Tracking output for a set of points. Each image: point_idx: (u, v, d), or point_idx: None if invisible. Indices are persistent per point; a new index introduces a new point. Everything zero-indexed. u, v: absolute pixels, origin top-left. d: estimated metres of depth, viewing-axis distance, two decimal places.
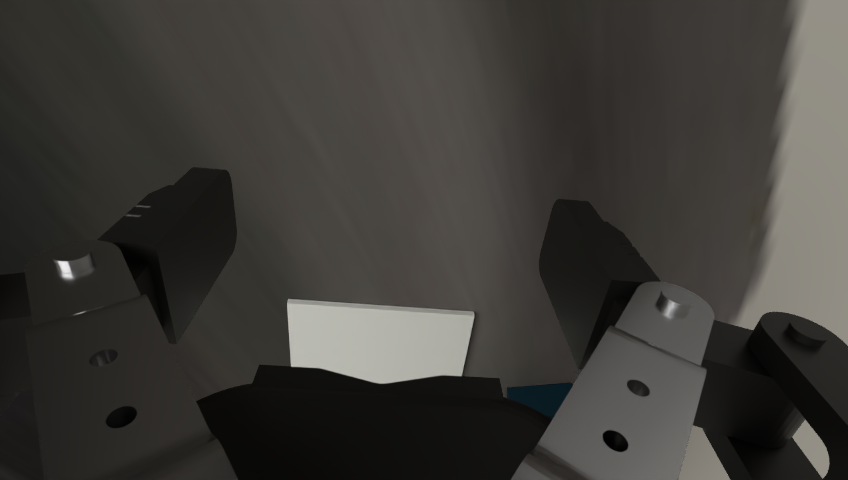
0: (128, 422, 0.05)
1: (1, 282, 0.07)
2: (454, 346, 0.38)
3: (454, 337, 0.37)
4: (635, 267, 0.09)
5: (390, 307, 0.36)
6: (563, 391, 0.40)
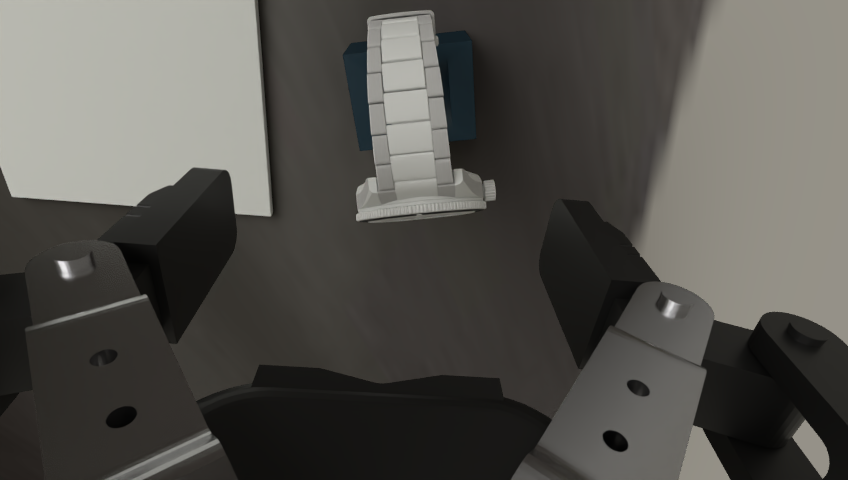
0: (128, 422, 0.05)
1: (1, 282, 0.07)
2: None
3: None
4: (635, 267, 0.09)
5: None
6: (447, 35, 0.22)
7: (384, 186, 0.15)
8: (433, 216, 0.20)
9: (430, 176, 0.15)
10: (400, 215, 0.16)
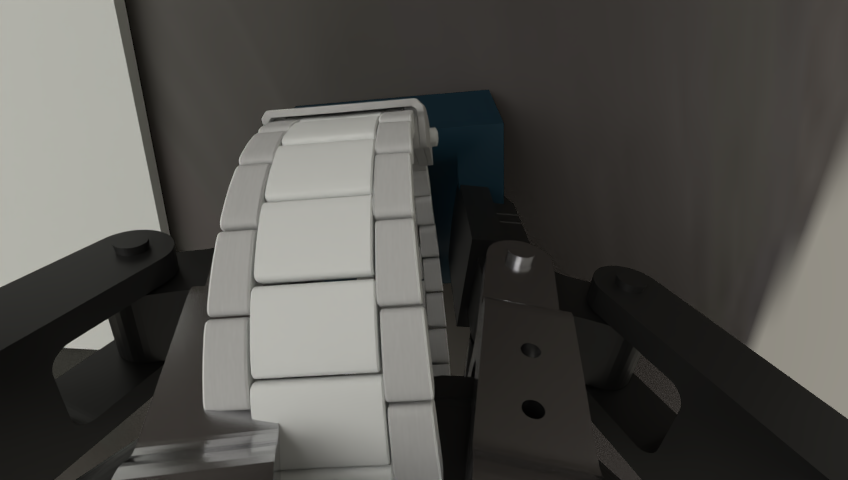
0: None
1: (189, 257, 0.08)
2: None
3: None
4: (500, 229, 0.10)
5: None
6: (459, 100, 0.13)
7: None
8: None
9: None
10: None
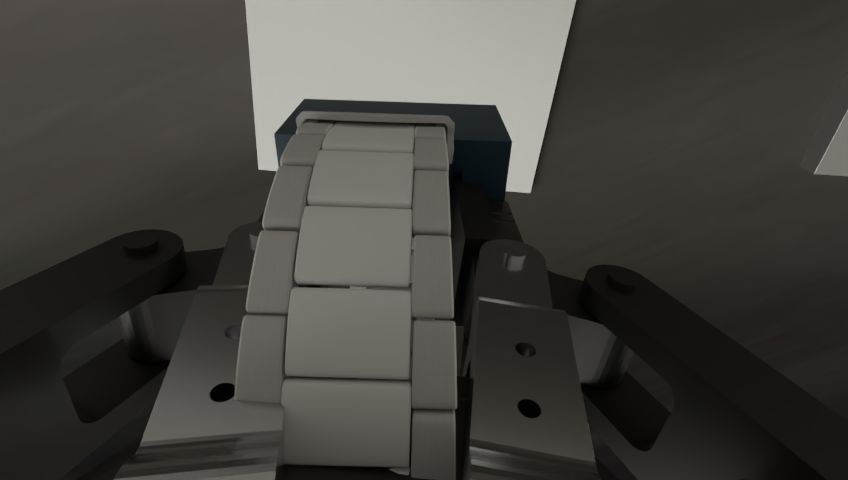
0: (230, 398, 0.05)
1: (197, 257, 0.08)
2: None
3: None
4: (494, 228, 0.10)
5: None
6: (467, 112, 0.13)
7: None
8: None
9: None
10: None
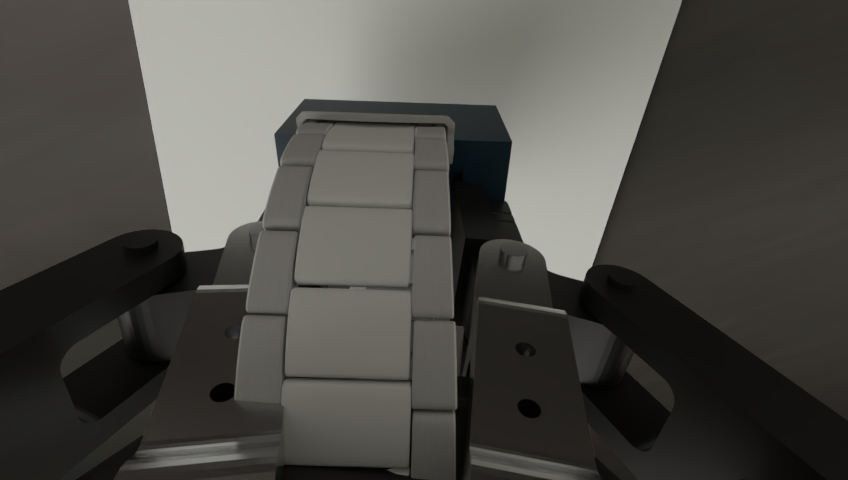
0: (230, 398, 0.05)
1: (197, 257, 0.08)
2: None
3: None
4: (494, 228, 0.10)
5: None
6: (467, 112, 0.13)
7: None
8: None
9: None
10: None
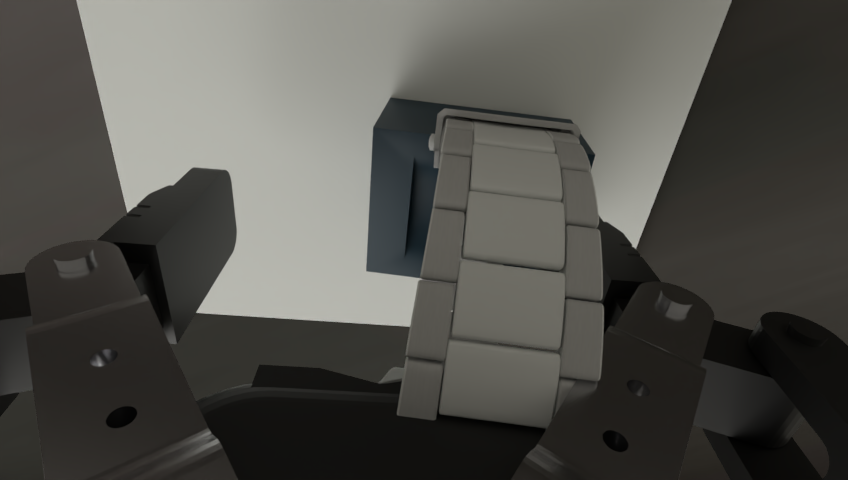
0: (128, 422, 0.05)
1: (1, 282, 0.07)
2: None
3: None
4: (635, 267, 0.09)
5: None
6: None
7: None
8: None
9: None
10: None
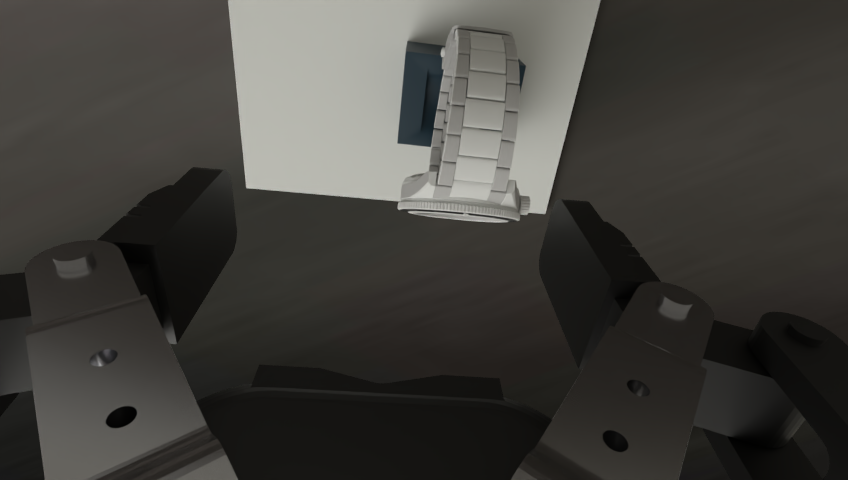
0: (128, 422, 0.05)
1: (1, 282, 0.07)
2: None
3: None
4: (635, 267, 0.09)
5: None
6: None
7: (444, 181, 0.16)
8: (462, 218, 0.21)
9: (488, 181, 0.16)
10: (449, 211, 0.17)
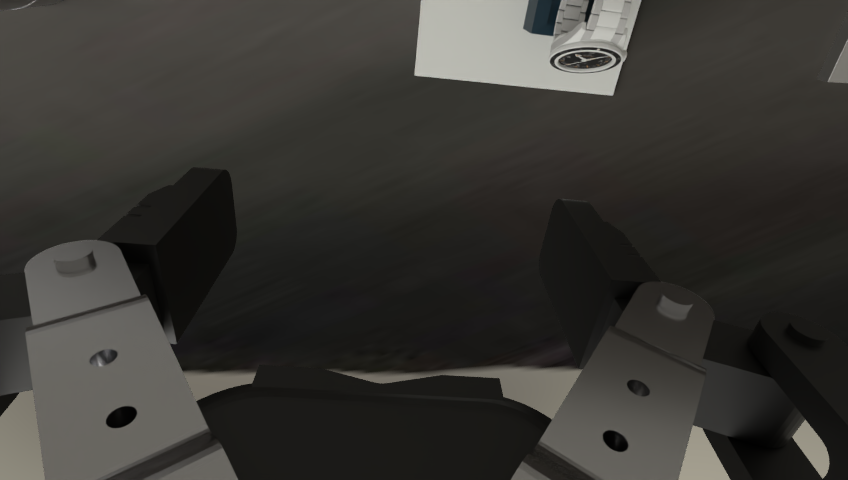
0: (128, 422, 0.05)
1: (1, 282, 0.07)
2: None
3: None
4: (635, 267, 0.09)
5: None
6: None
7: (590, 27, 0.30)
8: (580, 70, 0.35)
9: (614, 26, 0.30)
10: (589, 47, 0.31)
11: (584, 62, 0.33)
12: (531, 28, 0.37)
